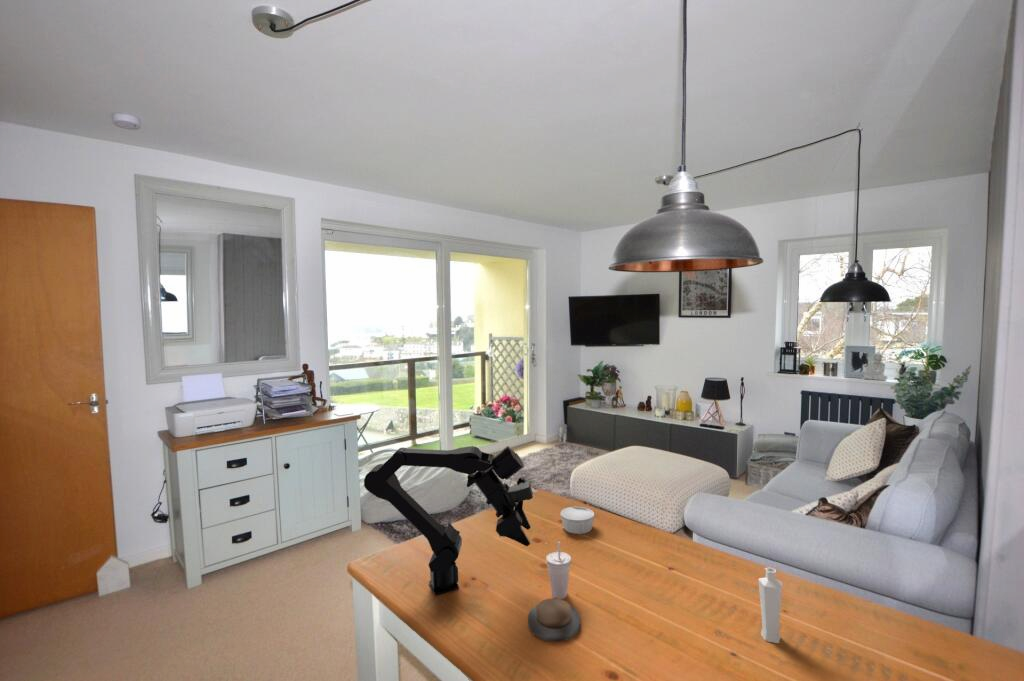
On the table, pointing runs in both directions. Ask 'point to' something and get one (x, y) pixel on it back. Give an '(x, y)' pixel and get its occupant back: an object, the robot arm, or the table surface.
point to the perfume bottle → (770, 605)
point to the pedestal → (554, 620)
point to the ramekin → (577, 519)
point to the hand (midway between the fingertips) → (529, 536)
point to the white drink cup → (558, 572)
